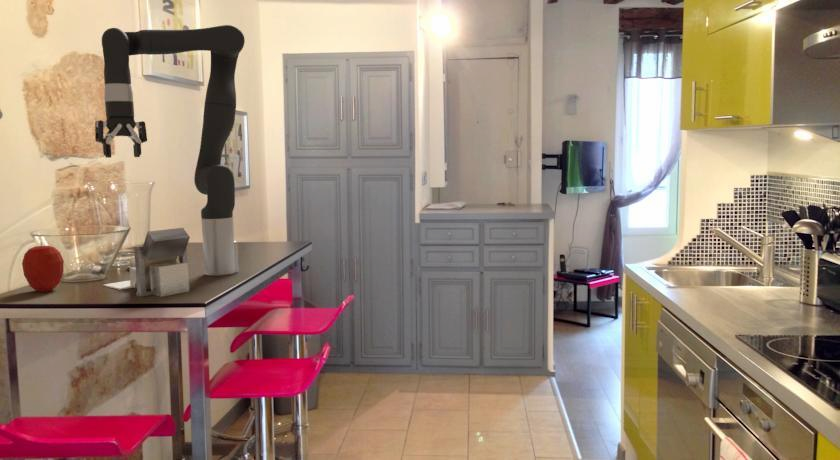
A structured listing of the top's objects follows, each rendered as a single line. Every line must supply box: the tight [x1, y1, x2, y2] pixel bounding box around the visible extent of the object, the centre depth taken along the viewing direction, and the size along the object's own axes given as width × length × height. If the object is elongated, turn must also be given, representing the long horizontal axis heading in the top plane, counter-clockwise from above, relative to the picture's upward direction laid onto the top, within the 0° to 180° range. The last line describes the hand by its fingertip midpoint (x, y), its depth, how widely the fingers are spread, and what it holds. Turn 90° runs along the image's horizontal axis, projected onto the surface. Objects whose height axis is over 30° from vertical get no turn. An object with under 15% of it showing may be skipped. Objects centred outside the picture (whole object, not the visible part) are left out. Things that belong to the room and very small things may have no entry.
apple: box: [21, 242, 65, 293], centre depth 193 cm, size 10×10×14 cm
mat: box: [102, 279, 135, 291], centre depth 200 cm, size 12×10×1 cm
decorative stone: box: [129, 257, 135, 269], centre depth 229 cm, size 6×16×3 cm, turn 24°
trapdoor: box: [133, 227, 191, 289], centre depth 188 cm, size 19×11×4 cm
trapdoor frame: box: [133, 245, 192, 298], centre depth 186 cm, size 8×14×13 cm, turn 138°
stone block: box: [129, 267, 151, 290], centre depth 195 cm, size 5×5×7 cm
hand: (123, 157), depth 203 cm, fingers open, 8 cm apart
